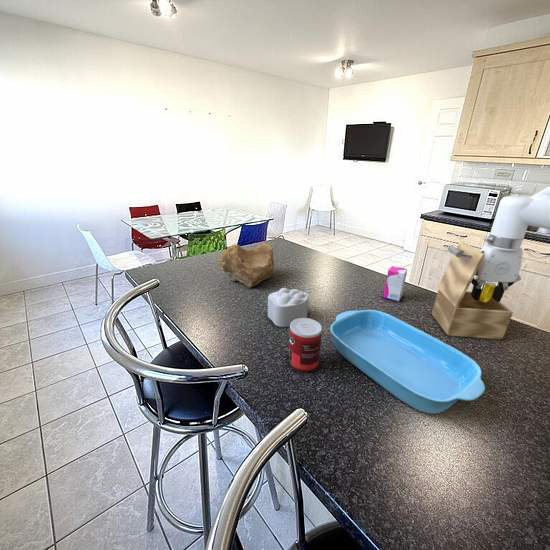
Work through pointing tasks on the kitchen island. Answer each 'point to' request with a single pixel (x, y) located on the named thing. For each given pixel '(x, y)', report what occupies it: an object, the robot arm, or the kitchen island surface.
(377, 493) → the kitchen island surface
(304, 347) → the canned food
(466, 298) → the chest
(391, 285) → the supplement box
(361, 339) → the casserole dish
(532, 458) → the kitchen island surface
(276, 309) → the lumpy-topped squat cylinder
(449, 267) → the lid
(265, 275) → the jagged tan rock
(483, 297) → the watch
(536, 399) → the kitchen island surface
